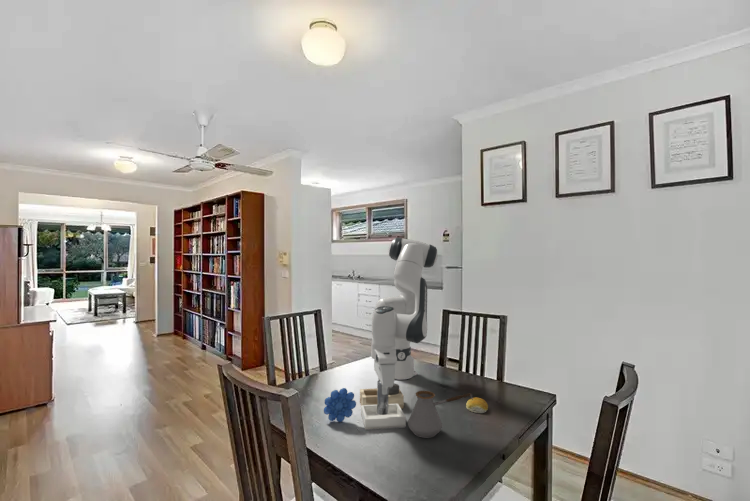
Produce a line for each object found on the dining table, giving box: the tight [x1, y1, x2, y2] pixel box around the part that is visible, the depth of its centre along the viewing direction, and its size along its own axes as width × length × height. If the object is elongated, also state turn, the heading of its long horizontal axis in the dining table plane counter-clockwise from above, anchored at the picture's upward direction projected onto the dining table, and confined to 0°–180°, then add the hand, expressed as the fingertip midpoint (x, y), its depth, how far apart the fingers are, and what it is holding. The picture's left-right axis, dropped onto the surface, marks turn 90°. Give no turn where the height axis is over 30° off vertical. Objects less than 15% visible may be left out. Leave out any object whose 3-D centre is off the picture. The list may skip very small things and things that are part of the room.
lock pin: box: [377, 380, 389, 415], centre depth 133 cm, size 4×4×11 cm
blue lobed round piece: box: [323, 387, 357, 423], centre depth 133 cm, size 12×7×12 cm, turn 86°
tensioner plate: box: [359, 382, 405, 410], centre depth 147 cm, size 9×16×8 cm, turn 99°
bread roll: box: [465, 397, 489, 414], centre depth 145 cm, size 8×9×4 cm
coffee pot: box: [407, 390, 474, 439], centre depth 123 cm, size 21×12×15 cm, turn 72°
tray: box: [360, 404, 407, 431], centre depth 133 cm, size 12×14×4 cm
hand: (382, 391), depth 133 cm, fingers closed on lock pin, 4 cm apart
